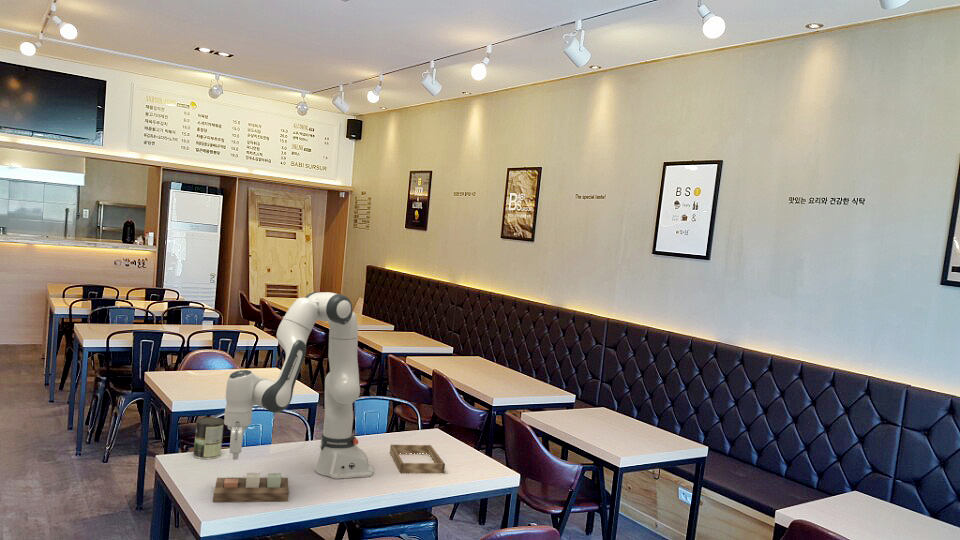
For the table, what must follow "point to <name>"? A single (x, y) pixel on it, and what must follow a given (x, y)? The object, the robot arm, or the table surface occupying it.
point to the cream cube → (252, 480)
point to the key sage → (274, 480)
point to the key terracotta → (231, 483)
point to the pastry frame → (417, 467)
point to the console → (250, 492)
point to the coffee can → (208, 438)
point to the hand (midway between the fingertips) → (235, 458)
